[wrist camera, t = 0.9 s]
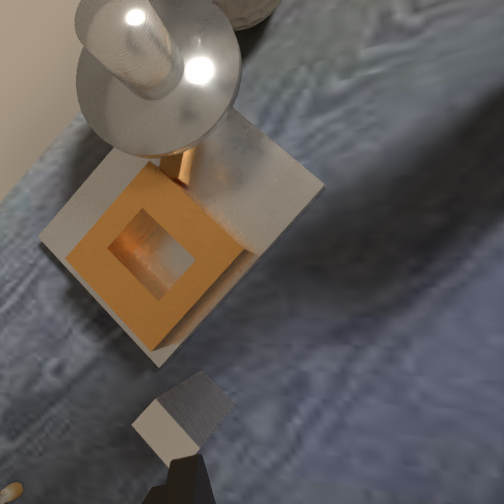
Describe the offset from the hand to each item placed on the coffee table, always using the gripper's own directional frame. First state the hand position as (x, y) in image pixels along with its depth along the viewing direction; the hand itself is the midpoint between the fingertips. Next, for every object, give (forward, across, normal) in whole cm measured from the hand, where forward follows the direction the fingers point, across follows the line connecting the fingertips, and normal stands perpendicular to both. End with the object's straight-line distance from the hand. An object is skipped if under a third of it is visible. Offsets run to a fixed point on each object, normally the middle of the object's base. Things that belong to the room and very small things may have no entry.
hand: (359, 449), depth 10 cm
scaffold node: (+31, +7, -5) cm, 32 cm away
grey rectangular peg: (+24, +8, +13) cm, 28 cm away
